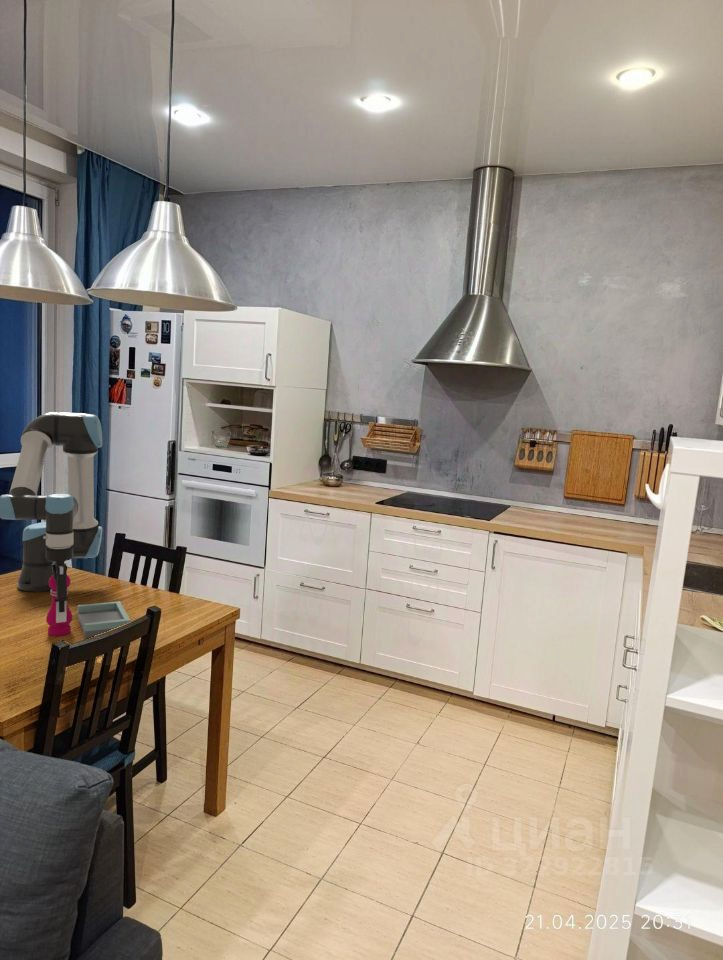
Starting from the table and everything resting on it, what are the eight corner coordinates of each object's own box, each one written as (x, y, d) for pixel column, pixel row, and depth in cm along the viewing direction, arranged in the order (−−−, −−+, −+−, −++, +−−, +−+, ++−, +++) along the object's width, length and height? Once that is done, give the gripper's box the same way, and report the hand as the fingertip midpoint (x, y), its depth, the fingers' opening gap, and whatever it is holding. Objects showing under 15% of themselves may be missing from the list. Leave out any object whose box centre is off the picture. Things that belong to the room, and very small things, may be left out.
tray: (77, 617, 214) (77, 605, 213) (119, 612, 220) (119, 601, 220) (84, 637, 197) (85, 625, 197) (130, 632, 204) (130, 620, 203)
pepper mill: (45, 637, 196) (45, 572, 193) (46, 629, 202) (46, 565, 200) (72, 635, 199) (72, 571, 196) (72, 627, 205) (72, 564, 202)
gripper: (42, 537, 206) (42, 602, 208) (48, 557, 184) (48, 630, 187) (68, 536, 209) (68, 600, 212) (77, 555, 188) (77, 626, 191)
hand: (59, 614), depth 200 cm, fingers open, 13 cm apart
